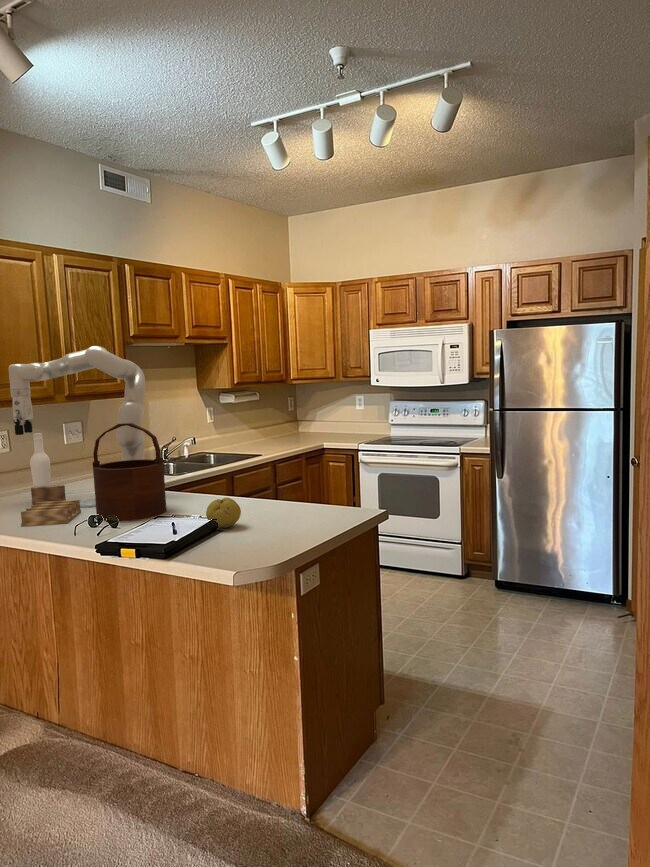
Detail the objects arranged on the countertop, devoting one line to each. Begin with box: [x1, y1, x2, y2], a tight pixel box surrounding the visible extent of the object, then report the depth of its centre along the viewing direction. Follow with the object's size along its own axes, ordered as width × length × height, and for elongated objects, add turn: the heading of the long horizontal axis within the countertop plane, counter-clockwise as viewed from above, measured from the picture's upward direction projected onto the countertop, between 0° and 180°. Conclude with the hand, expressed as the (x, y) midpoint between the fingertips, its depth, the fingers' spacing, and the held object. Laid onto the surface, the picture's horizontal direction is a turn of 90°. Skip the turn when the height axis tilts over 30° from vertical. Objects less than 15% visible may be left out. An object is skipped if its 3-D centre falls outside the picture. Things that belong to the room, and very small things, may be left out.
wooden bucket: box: [92, 423, 167, 522], centre depth 235 cm, size 26×26×35 cm
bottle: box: [29, 432, 52, 487], centre depth 264 cm, size 8×8×30 cm
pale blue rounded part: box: [80, 498, 96, 509], centre depth 256 cm, size 12×12×1 cm
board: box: [30, 484, 67, 506], centre depth 246 cm, size 12×3×10 cm, turn 96°
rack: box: [20, 499, 82, 527], centre depth 231 cm, size 16×18×5 cm
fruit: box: [205, 497, 242, 529], centre depth 209 cm, size 11×12×10 cm
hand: (24, 433), depth 260 cm, fingers open, 9 cm apart
